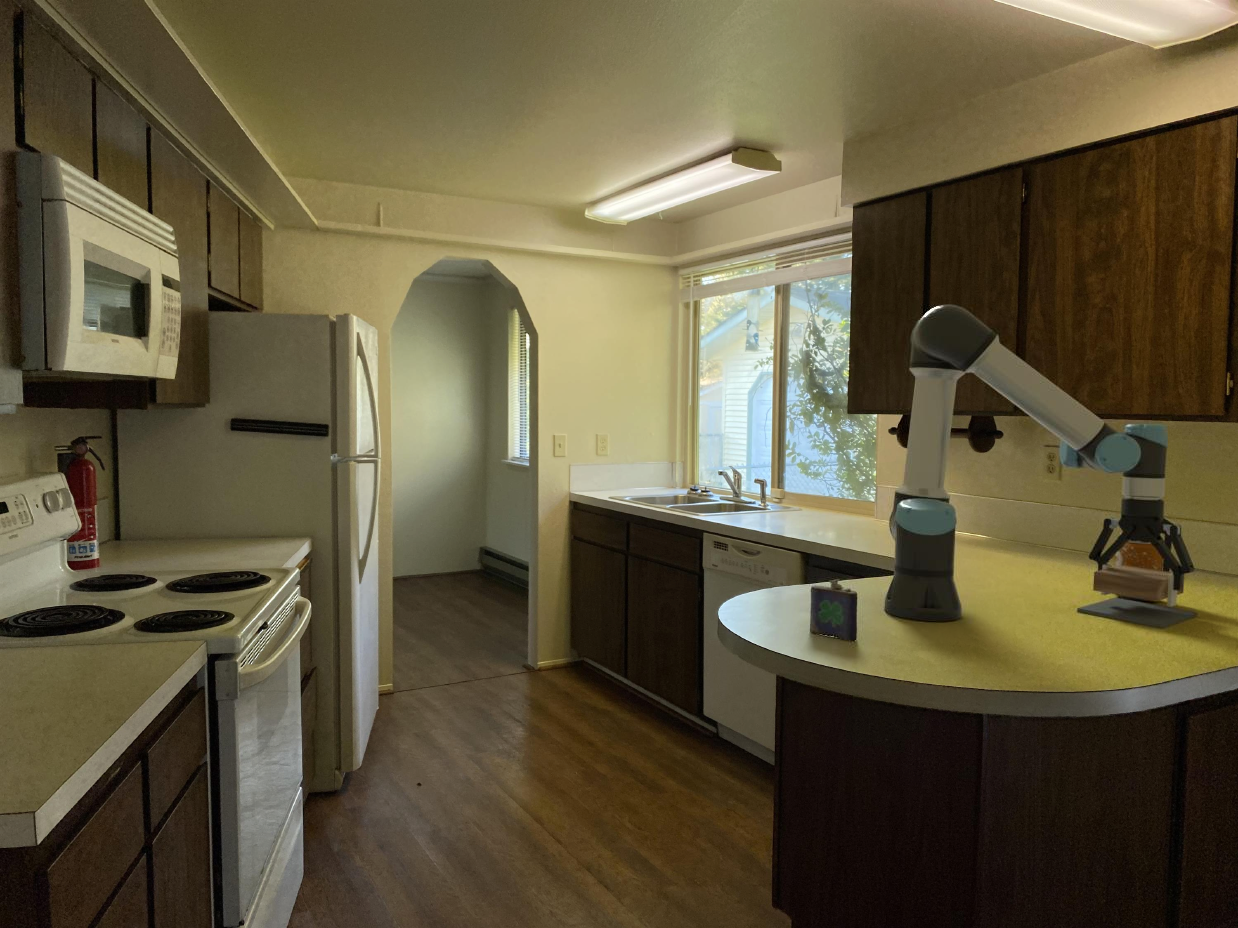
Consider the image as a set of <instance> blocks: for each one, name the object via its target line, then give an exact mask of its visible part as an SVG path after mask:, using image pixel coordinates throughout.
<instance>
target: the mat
mask: <svg viewBox="0 0 1238 928" xmlns="http://www.w3.org/2000/svg"><path fill="white" fill-rule="evenodd" d="M1076 612H1077V613H1081V614H1087V615H1091V616H1097V617H1102V618H1107V619H1110V620H1111V619H1112V620H1117V621H1123V622H1128V623H1133V624H1139V625H1142V626H1147V627H1148V626H1149V627H1154V628H1159V629H1164V628H1167V627H1170V626H1172V625H1176V624H1179V623H1182V622H1184V621H1187V620H1190V619H1192V618H1195V617H1198V611H1195V610H1193V611H1192V610H1188V609H1182V608H1176V607H1172V606H1167V605H1166V606H1165V605H1160V604H1153V603H1149V602H1148V603H1145V602H1137V601H1131V600H1125V599H1122V598H1121V597H1120V598H1119V597H1112V598H1108V599H1104V600H1103V601H1098V602H1095V603H1091V604H1087V605H1083V606H1081V607H1077V609H1076Z"/></svg>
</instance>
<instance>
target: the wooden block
mask: <svg viewBox="0 0 1238 928" xmlns="http://www.w3.org/2000/svg"><path fill="white" fill-rule="evenodd" d="M1172 573H1173V572H1172V571H1170V572H1166V571H1163V570H1162V571H1159V570H1153V569H1146V568H1139V567H1133V566H1126V565H1121V566H1117V567H1116V566H1114V567H1113V566H1112V568H1108V569H1104V570H1100V571H1098V570H1096V571H1093V586H1092V587H1093V589H1092V590H1093V591H1094V592H1095V591H1096V592H1100V593H1101V592H1105V593H1110V594H1111V595H1115V594H1116V595H1122V596H1127V597H1133V598H1139V599H1144V600H1150V601H1153V602H1159V601H1162V600H1165V599H1166V600H1167V595H1168V575H1169V574H1172ZM1184 587H1185V574H1184V575H1183V588H1182V590H1179V591H1178V590H1177V596H1178V595H1182V594H1184ZM1110 594H1109V595H1110ZM1116 595H1115V596H1116Z"/></svg>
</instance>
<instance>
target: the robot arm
mask: <svg viewBox="0 0 1238 928" xmlns="http://www.w3.org/2000/svg"><path fill="white" fill-rule="evenodd" d="M911 331H912V332H911V335H910V347H911V351H910V360H909V369H908V370H909V371H910V372H911V374H912V375H913V376H914V377H915V381H914V389H913V397H912V405H911V406H912V407H911V413H910V422H909V430H908V432H909V433H908V440H907V448H906V456H905V457H906V458H905V464H904V473H903V483H902V484H901V485H899V486H898V487H897V488H896V489H894V498H893V504H892V505H893V506H892V511H891V514H890V516H889V519H888V526H889V532H890V534H891V536H892V538H893V540H894V543H895V544H894V570H893V571H894V574H893V576H892V579H891V582H890V584H889V587H888V590H887V593H886V595H885V598H884V608H883V610H884V611H885V612H886V613H887V614H890V615H893V616H895V617H899V618H902V619H903V618H904V619H908V620H915V621H921V622H922V621H924V622H951V621H956V620H959V619H961V618H962V614H963V613H962V611H963V606H962V603H961V600H960V596H959V593H958V589H957V586H956V583H955V577H954V574H955V551H956V550H955V548H956V547H955V546H956V526H957V521H958V520H957V515H956V509H955V507H954V505H952V504H951V503H950V498H951V496H950V495H949V494H948V492H947V491H946V490H945V488H944V487H945V480H946V472H947V464H948V463H947V462H948V455H949V448H950V447H949V446H950V439H951V430H952V422H953V415H954V408H955V407H954V405H955V398H956V392H957V391H956V390H957V382H958V380H959V379H960V378H961V377H962V376H964V375H966V373H968V374H969V373H973V374H974V375H975V376H976V377H978V378H979V379H980V380H982V381H983V382H984V383H986V384H987V385H989V387H991V388H992V389H994V391H996V392H998V393H999V394H1000V395H1001V396H1003V397H1004V398H1006V399H1007V400H1008V401H1010V402H1011V403H1012V404H1013V405H1014V406H1016V407H1017V408H1019V409H1020V410H1022V411H1023V412H1024V413H1025V414H1027V415H1028V416H1029V417H1031V418H1032V419H1033V420H1034V421H1036V422H1037V423H1038V424H1039V425H1042V427H1044V428H1045V429H1047V430H1048V431H1049V432H1050V433H1052V434H1053V435H1054V436H1056V437H1057V438H1059V440H1060V442H1059V461H1060V463H1061V464H1062V466H1063V467H1065V468H1075V469H1092V470H1097V471H1103V472H1105V473H1107V474H1108V473H1109V474H1118V473H1119V474H1121V473H1122V482H1121V483H1122V485H1121V495H1123V496H1124V497H1122V499H1121V505H1120V518H1119V519H1115V518H1114V517H1108V518H1105V519H1104V520H1103V526H1102V528H1103V529H1102V530H1101V532H1100V534H1099V536H1098V537H1097V539H1096V542H1095V543H1094V545H1093V547H1092V549H1091V551H1090V553H1089V555H1088V559H1089V560H1091V561H1094V562H1096V563H1097V571H1100V570H1104V569H1108V568H1113V564H1112V563H1109V561H1111V559H1112V558H1113V557H1114V556H1116V553H1117V552H1118V551H1119V550H1120V549H1121V548H1122V547H1123V545H1124V544H1125V543H1126V542H1128V541H1129V540H1131V541H1140V542H1144V543H1148V542H1150V543H1151V544H1152V545H1153V546H1154V547H1155V548H1156V549H1157V551H1158V552H1159V554H1160V555H1161V557H1162V558H1163V559H1164V561H1165V562H1166V564H1167V565H1168V566H1169V568H1170V572H1173V573H1172V574H1169V575H1168V595H1167V598H1166V607H1174V606H1177V599H1178V598H1177V597H1178V595H1177V590H1178V591H1179V590H1182V588H1183V575H1184V576H1185V574H1190V573H1194V572H1195V565H1194V563H1193V561H1192V558H1191V556H1190V554H1189V551H1188V549H1187V546H1186V544H1185V541H1184V539H1183V537H1182V525H1180V524H1178V523H1177V524H1174V525H1165V524H1164V522H1163V518H1164V514H1165V513H1164V511H1165V501H1164V499H1162V498H1164V497H1165V493H1166V471H1167V469H1166V467H1167V458H1168V457H1167V455H1168V448H1169V446H1168V429H1167V427H1166V426H1164V425H1163V424H1159V423H1158V424H1156V423H1155V424H1153V423H1151V424H1150V423H1137V424H1136V423H1129V424H1126V425H1125V427H1124V430H1123V432H1118V430H1116V429H1115V428H1113V427H1112V426H1110V425H1109V424H1108V423H1106V422H1105V421H1104V420H1102V419H1101V418H1100V417H1099V416H1097V415H1096V414H1094V413H1093V412H1092V411H1090V410H1089V409H1088V408H1087V407H1085V406H1084V405H1083V404H1081V403H1080V402H1079V401H1077V400H1076V399H1075V398H1073V397H1072V396H1071V395H1069V394H1068V393H1067V392H1065V390H1062V389H1061V388H1060V387H1059V386H1058V385H1056V384H1055V383H1054V382H1052V381H1050V380H1049V379H1048V378H1047V377H1046V376H1044V375H1042V374H1041V373H1040V372H1039V371H1037V370H1036V369H1035V368H1033V367H1032V366H1031V365H1029V364H1028V363H1027V362H1025V361H1024V360H1023V359H1022V358H1020V357H1019V356H1018V355H1016V354H1015V353H1014V352H1012V351H1011V350H1010V349H1008V348H1007V347H1005V346H1004V345H1003V344H1001V343H1000V337H999V334H997V333H996V332H994V331H993V329H990V328H989V327H988V326H987V325H986V324H984V323H983V322H982V320H980V319H979V318H977V316H975V315H973V313H972V312H970V311H968V310H967V309H965V308H964V307H962V306H959V305H955V304H942V305H941V304H940V305H937V306H935V307H933V308H931V309H930V310H928V311H927V312H926V313H925V314H924V315H923V316H922V317H921V318H920V319H919V320H918V321H917V322H916V323H915V326H914V327H913V329H912V330H911ZM1117 527H1119V528H1120V530H1121V531H1123V532H1122V534H1121V535H1120V534H1119V536H1118V537H1117V539H1116V540H1115V541H1114V542H1113V543H1111V545H1110V546H1109V547H1108V548H1107V549H1106V550H1105V548H1106V546H1107V544H1108V541H1109V540H1110V538H1111V536H1112V534H1113V533H1114V530H1115V529H1117ZM1164 530H1166V532H1167V534H1168V535H1170V538H1171V541H1172V543H1171V544H1172V545H1173V546H1172V547H1173V549H1174V551H1175V553H1176V556H1177V558H1178V559H1177V558H1176V557H1175V555H1174V554H1173V552H1172V551H1170V550H1169V548H1168V547H1167V545H1166V544H1165V541H1164V539H1163V538H1164V537H1163V536H1162V535H1161V534H1162V532H1163V531H1164ZM1160 535H1161V536H1160ZM1104 550H1105V551H1104ZM1103 551H1104V552H1103ZM1100 593H1101V594H1100V595H1102V596H1108V595H1110V593H1105V592H1100Z"/></svg>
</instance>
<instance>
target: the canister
mask: <svg viewBox="0 0 1238 928" xmlns="http://www.w3.org/2000/svg"><path fill="white" fill-rule="evenodd" d="M1163 522H1164V524H1165V525H1175V524H1174V523H1173V522H1171V521H1169V520H1168V519H1166V518H1164V517H1163ZM1122 532H1123V531H1122V530H1121V531H1120V532H1119V536H1120V535H1121V534H1122ZM1161 534H1163V535H1164V537H1163V538H1164V539H1163V540H1164V541H1165V544H1166V545H1167V547H1168V548H1169V550H1170V551H1171V550H1172V547H1173V546H1172V545H1173V544H1172V541H1171V538H1170V535H1168V534H1167V532H1166V530H1164V531H1163V532H1162V533H1161ZM1161 534H1160V536H1161V537H1162V535H1161ZM1171 552H1172V551H1171ZM1121 565H1126V566H1133V567H1139V568H1146V569H1153V570H1159V571H1166V572H1171V569H1170V568H1169V566H1168V565H1167V564H1166V562H1165V561H1164V559H1163V558H1162V557H1161V555H1160V554H1159V552H1158V551H1157V549H1156V548H1155V547H1154V546H1153V545H1152V544H1151V543H1150V542H1148V543H1144V542H1140V541H1131V540H1129V541H1128V542H1126V543H1125V544H1124V545H1123V547H1122V548H1121V549H1120V550H1119V551H1118V552H1117V553H1116V554H1115V567H1117V566H1121ZM1114 595H1115V596H1117V597H1118V598H1119V597H1120V599H1125V600H1131V601H1137V602H1143V603H1148V604H1149V603H1154V601H1150V600H1144V599H1139V598H1133V597H1127V596H1122V595H1116V594H1114Z"/></svg>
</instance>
